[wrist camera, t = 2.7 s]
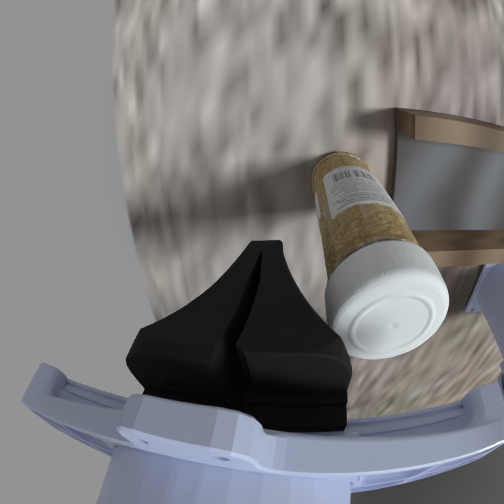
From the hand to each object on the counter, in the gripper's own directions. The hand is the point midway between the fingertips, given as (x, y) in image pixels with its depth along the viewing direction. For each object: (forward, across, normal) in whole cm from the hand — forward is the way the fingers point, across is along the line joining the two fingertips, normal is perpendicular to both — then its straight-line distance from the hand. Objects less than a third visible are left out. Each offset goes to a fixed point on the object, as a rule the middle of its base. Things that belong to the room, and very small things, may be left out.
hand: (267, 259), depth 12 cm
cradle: (+9, -15, 0) cm, 18 cm away
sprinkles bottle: (+10, -5, 0) cm, 11 cm away
